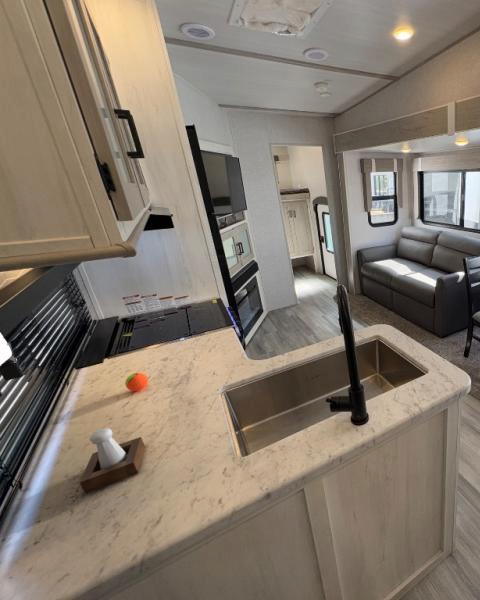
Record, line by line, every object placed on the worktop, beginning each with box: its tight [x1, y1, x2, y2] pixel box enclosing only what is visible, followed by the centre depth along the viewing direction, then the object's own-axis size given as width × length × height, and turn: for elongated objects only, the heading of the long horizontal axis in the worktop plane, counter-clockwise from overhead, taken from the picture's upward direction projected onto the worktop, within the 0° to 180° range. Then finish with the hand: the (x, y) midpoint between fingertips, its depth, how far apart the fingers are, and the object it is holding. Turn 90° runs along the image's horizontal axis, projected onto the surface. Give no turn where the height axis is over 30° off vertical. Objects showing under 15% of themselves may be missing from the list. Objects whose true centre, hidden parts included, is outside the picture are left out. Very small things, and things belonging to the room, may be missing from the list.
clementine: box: [124, 372, 149, 392], centre depth 121 cm, size 8×7×7 cm
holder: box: [79, 436, 146, 495], centre depth 86 cm, size 11×11×4 cm
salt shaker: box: [89, 427, 128, 470], centre depth 84 cm, size 6×6×13 cm
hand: (4, 387), depth 73 cm, fingers open, 9 cm apart
